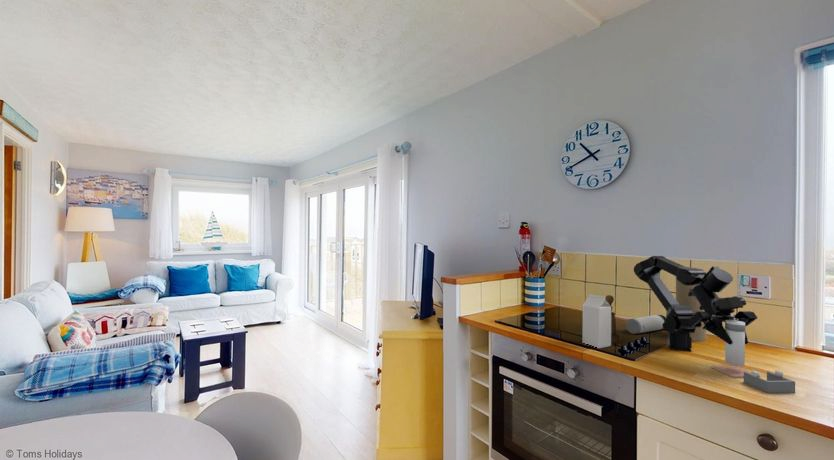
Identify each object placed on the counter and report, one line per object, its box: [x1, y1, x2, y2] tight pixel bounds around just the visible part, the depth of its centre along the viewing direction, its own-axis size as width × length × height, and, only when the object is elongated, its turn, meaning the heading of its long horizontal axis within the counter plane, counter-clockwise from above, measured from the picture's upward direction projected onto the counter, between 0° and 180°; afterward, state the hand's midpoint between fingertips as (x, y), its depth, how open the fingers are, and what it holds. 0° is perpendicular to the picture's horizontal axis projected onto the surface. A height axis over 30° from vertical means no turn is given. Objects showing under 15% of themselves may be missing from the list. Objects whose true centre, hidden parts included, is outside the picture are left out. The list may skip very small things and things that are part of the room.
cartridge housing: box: [743, 370, 796, 394], centre depth 103 cm, size 7×9×4 cm
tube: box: [675, 277, 707, 343], centre depth 149 cm, size 10×10×25 cm
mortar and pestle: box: [604, 295, 620, 344], centre depth 145 cm, size 7×6×18 cm
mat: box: [711, 365, 761, 379], centre depth 113 cm, size 8×8×1 cm
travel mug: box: [625, 314, 667, 335], centre depth 158 cm, size 6×7×20 cm
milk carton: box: [582, 293, 612, 349], centre depth 139 cm, size 7×7×19 cm
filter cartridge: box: [724, 320, 747, 367], centre depth 113 cm, size 5×5×13 cm
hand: (739, 343), depth 112 cm, fingers closed on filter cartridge, 5 cm apart
